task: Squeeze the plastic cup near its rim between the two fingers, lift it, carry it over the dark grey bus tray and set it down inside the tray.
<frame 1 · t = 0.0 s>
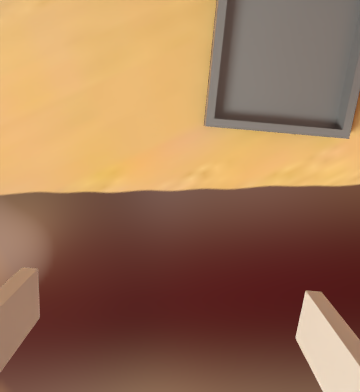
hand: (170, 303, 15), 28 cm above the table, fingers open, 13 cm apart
bus tray: (282, 58, 38), on the table
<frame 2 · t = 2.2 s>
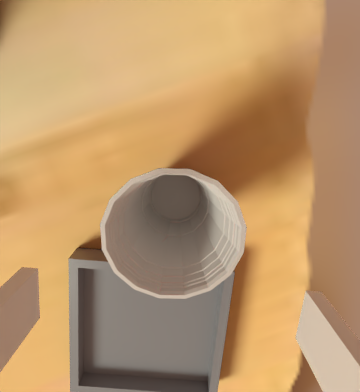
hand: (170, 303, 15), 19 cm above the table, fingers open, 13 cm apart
plastic cup: (176, 197, 33), on the table
bus tray: (149, 319, 37), on the table
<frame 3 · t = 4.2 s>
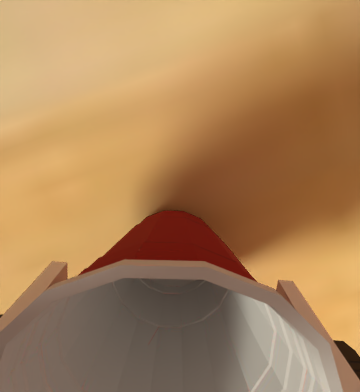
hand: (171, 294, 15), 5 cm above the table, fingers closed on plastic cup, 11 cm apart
plastic cup: (174, 251, 20), on the table, touching gripper
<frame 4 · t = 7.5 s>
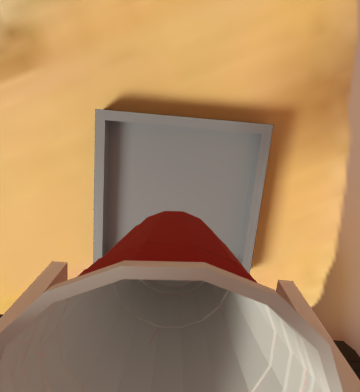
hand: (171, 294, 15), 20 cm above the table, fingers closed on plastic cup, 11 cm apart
plastic cup: (174, 251, 20), point 15 cm above the table, touching gripper
bus tray: (177, 196, 35), on the table
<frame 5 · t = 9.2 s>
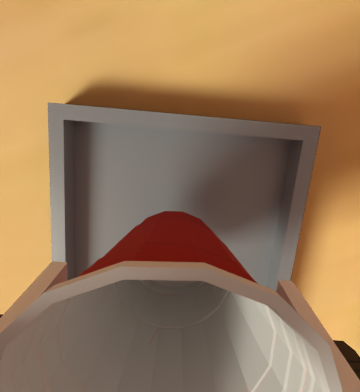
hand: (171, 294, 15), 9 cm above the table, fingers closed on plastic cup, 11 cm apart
plastic cup: (174, 252, 20), point 4 cm above the table, touching gripper
bus tray: (175, 227, 25), on the table
when the fingers open (8 cm above the table, at t = 10.6 s): plastic cup drops 2 cm, resting on bus tray.
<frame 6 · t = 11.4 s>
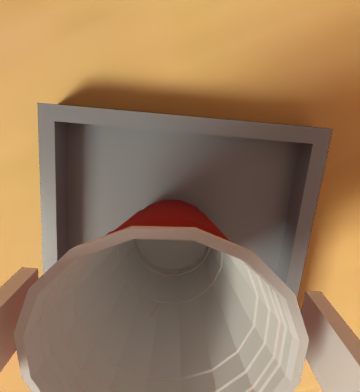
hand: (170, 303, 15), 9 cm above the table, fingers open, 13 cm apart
plastic cup: (172, 237, 22), point 1 cm above the table, touching bus tray
bus tray: (175, 236, 23), on the table
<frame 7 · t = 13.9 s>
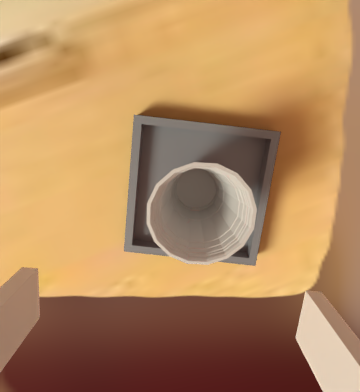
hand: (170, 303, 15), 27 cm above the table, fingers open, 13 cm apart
plastic cup: (196, 189, 41), point 1 cm above the table, touching bus tray
bus tray: (197, 189, 41), on the table
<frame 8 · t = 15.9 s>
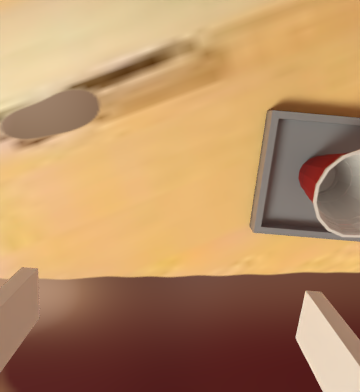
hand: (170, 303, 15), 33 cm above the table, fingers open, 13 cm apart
plastic cup: (316, 176, 45), point 1 cm above the table, touching bus tray
bus tray: (315, 176, 46), on the table
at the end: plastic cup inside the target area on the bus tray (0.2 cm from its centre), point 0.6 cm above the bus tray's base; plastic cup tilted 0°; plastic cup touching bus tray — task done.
